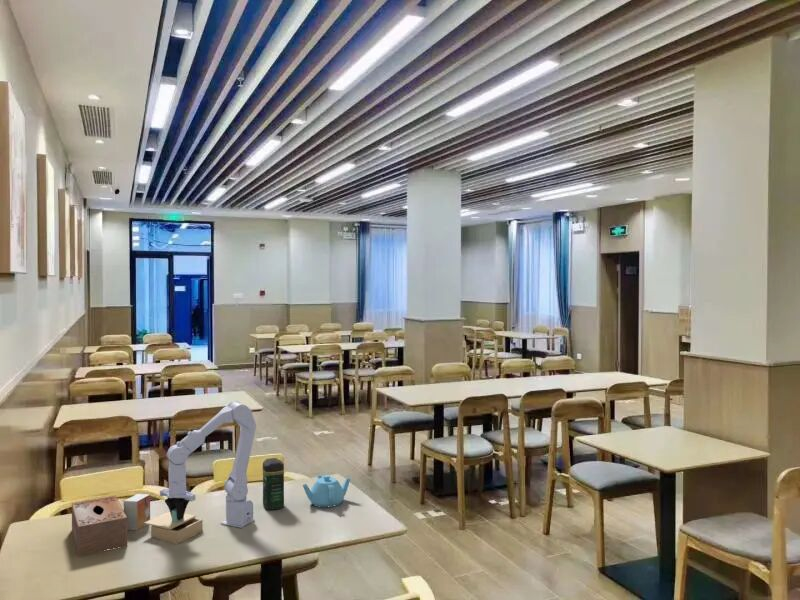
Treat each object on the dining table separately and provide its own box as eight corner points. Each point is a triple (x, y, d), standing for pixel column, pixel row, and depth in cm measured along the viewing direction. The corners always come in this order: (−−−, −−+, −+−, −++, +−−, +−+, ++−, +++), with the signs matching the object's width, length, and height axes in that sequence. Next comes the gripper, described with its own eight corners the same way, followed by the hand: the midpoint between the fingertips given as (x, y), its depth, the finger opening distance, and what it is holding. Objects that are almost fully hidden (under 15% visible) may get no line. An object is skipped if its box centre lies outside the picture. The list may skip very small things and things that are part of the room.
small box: (137, 531, 213) (136, 501, 213) (123, 529, 214) (122, 500, 214) (150, 522, 221) (150, 494, 221) (137, 521, 222) (137, 493, 222)
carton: (202, 530, 213) (202, 519, 213) (177, 543, 202) (177, 532, 202) (176, 525, 218) (176, 514, 218) (151, 538, 207) (150, 526, 207)
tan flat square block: (195, 517, 214) (195, 504, 214) (170, 529, 203) (170, 516, 203) (170, 512, 219) (170, 500, 219) (144, 524, 208) (144, 511, 208)
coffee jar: (286, 508, 234) (286, 461, 234) (266, 511, 231) (265, 464, 230) (280, 500, 243) (280, 455, 242) (261, 503, 239) (260, 457, 239)
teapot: (300, 506, 237) (299, 479, 237) (318, 494, 251) (318, 468, 251) (334, 511, 231) (334, 483, 231) (351, 498, 245) (351, 472, 245)
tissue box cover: (72, 530, 214) (71, 503, 214) (116, 522, 222) (115, 495, 222) (78, 557, 192) (78, 526, 192) (127, 546, 200) (126, 517, 200)
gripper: (152, 480, 209) (153, 519, 209) (184, 486, 203) (185, 525, 203) (168, 475, 215) (168, 512, 215) (199, 480, 209) (200, 518, 209)
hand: (177, 518), depth 210 cm, fingers closed on tan flat square block, 2 cm apart
